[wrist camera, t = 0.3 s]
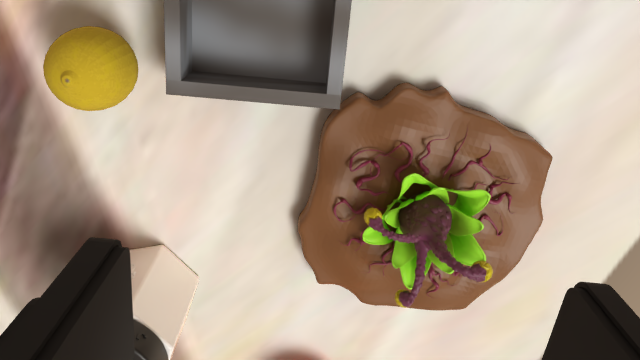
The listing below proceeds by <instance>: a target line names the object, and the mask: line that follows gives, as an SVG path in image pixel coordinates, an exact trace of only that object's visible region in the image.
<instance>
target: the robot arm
mask: <svg viewBox="0 0 640 360" xmlns="http://www.w3.org/2000/svg"><path fill="white" fill-rule="evenodd" d="M134 349H135V347H134V325H133V304H132V282H131V261H130V251H129V249H128V248H125V247H122V245H121V242H120V241H119V240H114V239H103V238H89V239H88V240H87V241H86V242H85V243H84V245H83V246H82V247H81V248H80V250H79V251H78V252H77V253H76V254H75V256H74V257H73V258H72V259H71V261H70V262H69V263H68V264H67V265H66V267H65V268H64V269H63V270H62V272H61V273H60V274H59V275H58V276H57V278H56V279H55V280H54V281H53V283H52V284H51V285H50V286H49V287H48V289H47V290H46V291H45V292H44V294H43V295H42V296H41V297H40V298H35V299H32V300H31V301H30V302H29V303H28V304H27V305H26V306H25V307H24V308H23V310H22V311H21V312H20V313H19V314H18V315H17V317H16V318H15V319H14V320H13V321H12V323H11V324H10V325H9V326H8V327H7V329H6V330H5V331H4V332H3V333H2V334H1V336H0V360H133V358H134ZM542 360H640V318H639V317H638V316H637V315H636V314H635V313H634V311H633V310H632V309H631V308H630V307H629V306H628V305H627V304H626V302H625V301H624V300H623V299H622V298H621V297H620V296H619V295H618V293H617V292H616V291H615V290H614V289H613V288H612V287H611V286H609V285H607V284H600V283H589V282H579V283H577V284H576V285H575V286H574V288H569V289H568V290H567V292H566V294H565V297H564V300H563V303H562V305H561V308H560V311H559V314H558V316H557V319H556V322H555V325H554V327H553V330H552V333H551V336H550V338H549V341H548V344H547V347H546V349H545V352H544V355H543V358H542Z"/></svg>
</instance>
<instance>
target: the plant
mask: <svg viewBox="0 0 640 360" xmlns="http://www.w3.org/2000/svg"><path fill="white" fill-rule="evenodd" d="M551 161H552V156H551V154H550V153H549V152H548V151H546V150H545V149H544V148H543V147H542V146H541V145H540V144H539V143H538V142H537V141H536V140H534V139H533V138H532V137H531V136H530V135H528V134H526V133H524V132H520V131H517V130H513V129H511V128H508V127H506V126H505V125H503V124H502V123H500V122H499V121H498V120H497V119H496V118H494V117H493V116H491V115H489V114H486V113H484V112H480V111H477V110H474V109H471V108H468V107H465V106H462V105H459V104H458V103H456V102H455V101H454V100H453V98H452V97H451V95H450V94H449V92H448V91H447V90H446V89H445V88H444V87H443V86H440V87H438V88H435V89H432V90H421V89H419V88H417V87H415V86H413V85H411V84H409V83H401V84H399V85H397V86H396V87H395V88H393V89H392V90H391V91H390V92H389V93H388V94H387V95H386V96H384V97H383V98H382V99H380V100H372V99H370V98H368V97H367V96H366V95H364V94H362V93H360V92H357V93H355V94H353V95H351V96H350V97H348V98H347V99H346V100H344V101H343V102H342V103H341V104H340V109H334V110H333V111H332V113H331V114H330V115H329V117H328V118H327V120H326V122H325V124H324V126H323V129H322V132H321V136H320V142H319V151H318V165H317V171H316V175H315V179H314V182H313V186H312V189H311V193H310V196H309V199H308V202H307V204H306V206H305V208H304V209H303V211H302V212H301V213H300V215H299V218H298V232H299V234H300V237H301V243H302V250H303V254H304V257H305V259H306V261H307V262H308V263H309V265H310V266H311V267H312V269H313V271H314V274H315V276H316V280H317V282H318V283H319V284H336V285H340V286H342V287H344V288H346V289H348V290H349V291H351V292H352V293H353V294H355V295H356V297H357V298H358V299H359V300H360V301H361V302H363V303H366V304H370V305H388V306H398V307H405V308H406V307H407V308H415V309H425V310H457V309H464V308H466V307H467V306H468V305H469V304H470V303H472V302H473V301H474V300H475V299H476V298H478V297H479V296H480V295H481V294H483V293H484V292H485V291H487V290H488V289H489V288H491V287H492V286H494V285H495V284H497V283H498V282H500V281H501V280H502V279H503V278H505V277H506V276H507V275H508V274H509V272H510V271H511V270H512V269H513V268H514V267H515V266H516V265H517V264H518V262H519V261H520V260H521V258H522V256H523V254H524V252H525V251H526V249H527V247H528V245H529V244H530V243H531V241H532V239H533V237H534V236H535V234H536V232H537V231H538V229H539V227H540V225H541V223H542V221H543V216H542V209H541V195H542V191H543V188H544V184H545V181H546V177H547V173H548V170H549V167H550V164H551Z"/></svg>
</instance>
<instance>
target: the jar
mask: <svg viewBox="0 0 640 360" xmlns="http://www.w3.org/2000/svg"><path fill="white" fill-rule="evenodd" d="M129 251H130V261H131V282H132V304H133V325H134V347H135V349H134V358H133V360H171V359H172V356H173V354H174V351H175V348H176V346H177V343H178V340H179V337H180V335H181V332H182V329H183V327H184V324H185V321H186V318H187V316H188V313H189V310H190V307H191V304H192V301H193V298H194V295H195V292H196V289H197V285H198V282H199V277H198V276H197V275H196V274H195V273H194V272H193V271H192V270H191V269H189V268H188V267H187V266H186V265H185V264H184V263H183V262H182V261H181V260H180V259H178V258H177V257H176V256H175V255H174V254H173V253H172V252H171V251H170V250H169V249H168V248H167V247H165V246H164V245H158V246H151V247H145V248H138V249H132V250H129Z"/></svg>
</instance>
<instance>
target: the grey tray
mask: <svg viewBox="0 0 640 360" xmlns="http://www.w3.org/2000/svg"><path fill="white" fill-rule="evenodd" d="M351 2H352V0H164V28H165V65H166V94H169V95H181V96H192V97H203V98H215V99H226V100H238V101H249V102H260V103H272V104H283V105H294V106H306V107H317V108H329V109H340V102H341V93H342V84H343V75H344V66H345V56H346V47H347V38H348V29H349V20H350V11H351Z"/></svg>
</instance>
